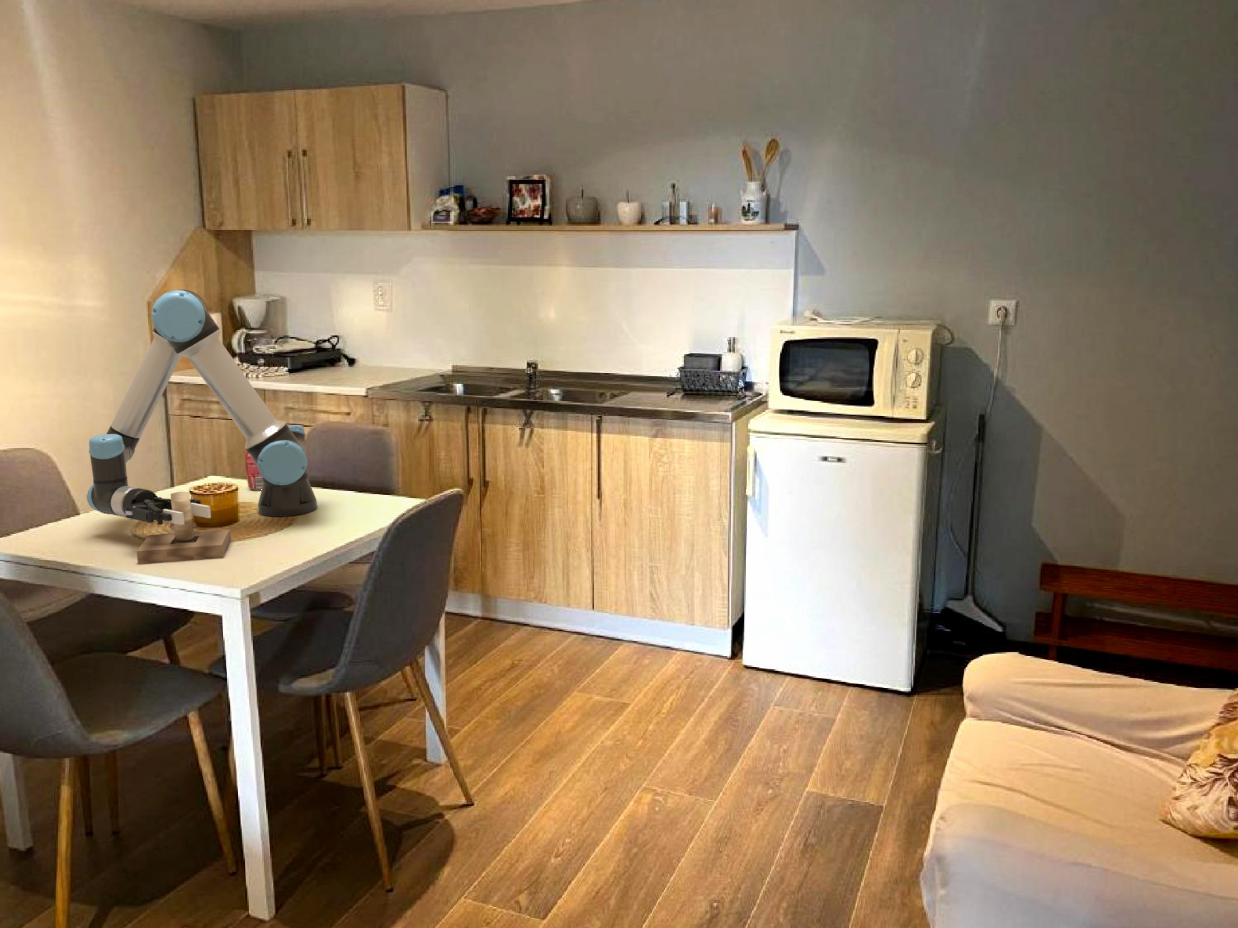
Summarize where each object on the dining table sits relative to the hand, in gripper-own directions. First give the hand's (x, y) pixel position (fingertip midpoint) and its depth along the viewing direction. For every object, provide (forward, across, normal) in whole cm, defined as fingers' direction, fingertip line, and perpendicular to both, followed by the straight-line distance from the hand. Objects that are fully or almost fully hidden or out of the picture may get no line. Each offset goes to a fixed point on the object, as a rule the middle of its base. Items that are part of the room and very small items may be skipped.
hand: (195, 515), depth 236 cm
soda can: (-46, -53, -10) cm, 71 cm away
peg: (-5, 0, -10) cm, 11 cm away
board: (-5, 0, -10) cm, 11 cm away
